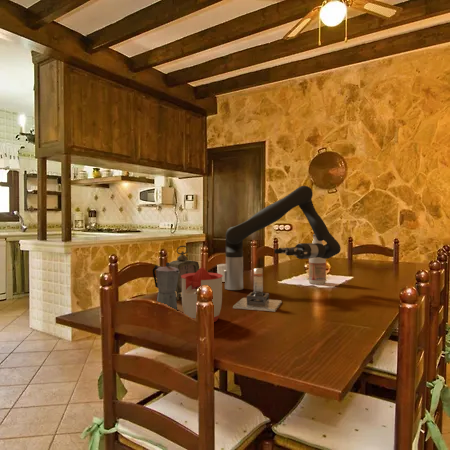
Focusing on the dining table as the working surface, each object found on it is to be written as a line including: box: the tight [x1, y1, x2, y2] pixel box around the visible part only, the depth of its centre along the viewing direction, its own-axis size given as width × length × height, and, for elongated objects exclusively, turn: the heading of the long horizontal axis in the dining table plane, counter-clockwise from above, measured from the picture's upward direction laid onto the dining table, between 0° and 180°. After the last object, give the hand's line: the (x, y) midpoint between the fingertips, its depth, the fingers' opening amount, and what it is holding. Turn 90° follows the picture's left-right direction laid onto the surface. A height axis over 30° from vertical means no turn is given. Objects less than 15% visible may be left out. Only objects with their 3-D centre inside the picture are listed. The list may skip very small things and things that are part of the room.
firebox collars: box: [232, 291, 282, 313], centre depth 158 cm, size 18×16×5 cm
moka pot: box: [152, 262, 180, 311], centre depth 151 cm, size 10×15×20 cm, turn 58°
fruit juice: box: [308, 234, 327, 285], centre depth 208 cm, size 9×9×28 cm
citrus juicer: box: [181, 267, 223, 323], centre depth 135 cm, size 16×17×20 cm
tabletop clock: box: [168, 245, 200, 301], centre depth 173 cm, size 14×9×25 cm, turn 137°
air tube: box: [253, 267, 264, 302], centre depth 158 cm, size 4×4×15 cm
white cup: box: [216, 263, 226, 282], centre depth 214 cm, size 8×8×10 cm
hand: (280, 252), depth 168 cm, fingers open, 8 cm apart
